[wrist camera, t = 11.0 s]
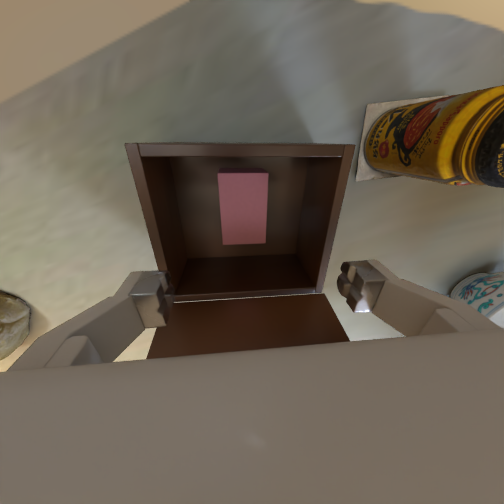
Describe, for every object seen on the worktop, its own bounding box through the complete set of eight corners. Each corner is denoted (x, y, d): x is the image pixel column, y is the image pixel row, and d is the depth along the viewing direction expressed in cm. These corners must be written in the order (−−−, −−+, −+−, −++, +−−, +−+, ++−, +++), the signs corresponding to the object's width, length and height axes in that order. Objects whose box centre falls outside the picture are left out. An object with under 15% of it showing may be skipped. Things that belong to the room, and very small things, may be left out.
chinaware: (512, 296, 36) (576, 331, 30) (429, 330, 39) (470, 369, 32) (523, 233, 30) (610, 260, 23) (421, 279, 32) (472, 316, 25)
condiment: (365, 104, 20) (520, 63, 9) (447, 95, 20) (687, 45, 10) (354, 181, 23) (456, 214, 13) (423, 172, 24) (578, 198, 13)
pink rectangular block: (219, 168, 20) (217, 173, 17) (262, 167, 21) (268, 172, 18) (223, 231, 24) (222, 245, 21) (260, 230, 24) (265, 243, 21)
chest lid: (53, 631, 7) (104, 607, 9) (464, 550, 8) (413, 549, 11) (164, 303, 19) (174, 331, 21) (324, 293, 20) (315, 320, 23)
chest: (160, 142, 19) (123, 143, 13) (315, 143, 21) (356, 144, 14) (183, 260, 26) (167, 302, 19) (299, 255, 28) (321, 293, 21)
